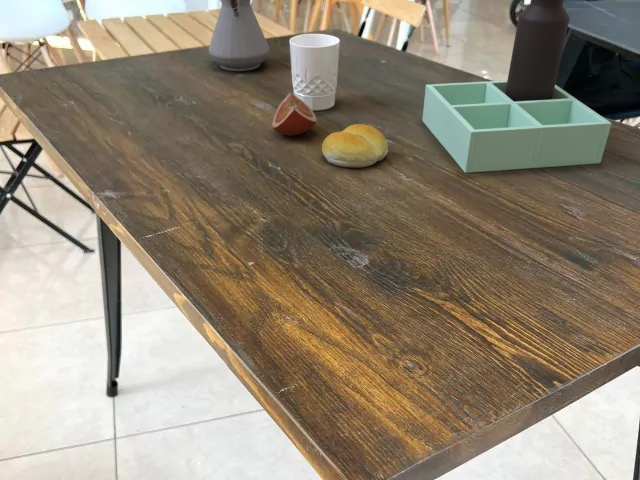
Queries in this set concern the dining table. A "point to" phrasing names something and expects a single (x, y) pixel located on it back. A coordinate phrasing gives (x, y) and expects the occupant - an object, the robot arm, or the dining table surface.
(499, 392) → the dining table surface
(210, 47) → the coffee pot
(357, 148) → the bread roll
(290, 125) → the fruit slice
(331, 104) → the white cup
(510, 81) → the vinegar
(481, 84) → the green compartment tray
